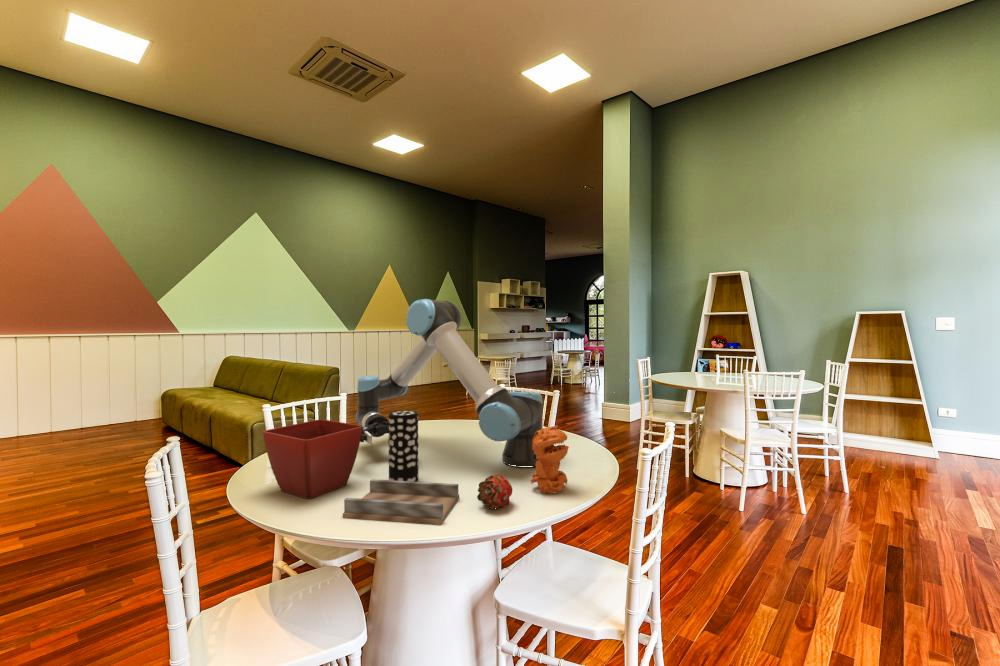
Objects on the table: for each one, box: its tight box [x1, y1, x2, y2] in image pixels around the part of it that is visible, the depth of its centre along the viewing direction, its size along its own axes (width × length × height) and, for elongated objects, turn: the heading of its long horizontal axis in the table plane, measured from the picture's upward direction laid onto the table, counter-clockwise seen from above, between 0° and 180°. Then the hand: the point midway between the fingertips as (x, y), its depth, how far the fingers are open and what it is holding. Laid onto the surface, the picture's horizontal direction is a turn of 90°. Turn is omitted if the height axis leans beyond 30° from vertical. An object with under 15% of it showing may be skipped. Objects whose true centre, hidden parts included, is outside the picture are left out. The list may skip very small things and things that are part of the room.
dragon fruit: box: [476, 473, 513, 510], centre depth 113 cm, size 8×8×12 cm
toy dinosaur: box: [529, 424, 570, 494], centre depth 124 cm, size 11×11×18 cm
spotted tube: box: [388, 410, 419, 482], centre depth 130 cm, size 8×8×20 cm
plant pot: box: [262, 418, 363, 499], centre depth 126 cm, size 19×19×17 cm
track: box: [342, 478, 460, 526], centre depth 112 cm, size 24×16×4 cm, turn 80°
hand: (393, 437), depth 138 cm, fingers open, 13 cm apart
